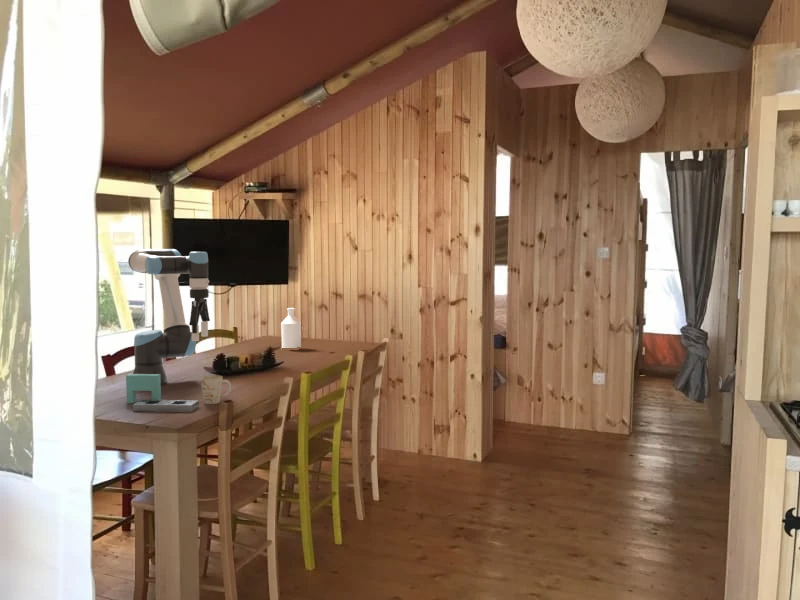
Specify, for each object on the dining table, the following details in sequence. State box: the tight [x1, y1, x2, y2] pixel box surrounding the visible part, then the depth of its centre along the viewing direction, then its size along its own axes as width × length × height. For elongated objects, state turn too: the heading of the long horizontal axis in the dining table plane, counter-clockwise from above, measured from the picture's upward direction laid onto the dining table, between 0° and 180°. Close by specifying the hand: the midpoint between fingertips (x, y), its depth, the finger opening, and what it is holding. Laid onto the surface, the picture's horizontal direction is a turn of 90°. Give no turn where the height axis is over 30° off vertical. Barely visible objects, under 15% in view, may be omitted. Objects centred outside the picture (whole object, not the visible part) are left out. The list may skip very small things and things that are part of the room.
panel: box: [125, 373, 162, 404], centre depth 255 cm, size 12×3×11 cm, turn 88°
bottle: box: [280, 307, 302, 349], centre depth 391 cm, size 12×12×25 cm
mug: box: [200, 374, 232, 405], centre depth 257 cm, size 8×13×10 cm, turn 135°
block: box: [132, 399, 200, 413], centre depth 244 cm, size 22×8×2 cm, turn 88°
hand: (200, 338), depth 274 cm, fingers open, 13 cm apart
